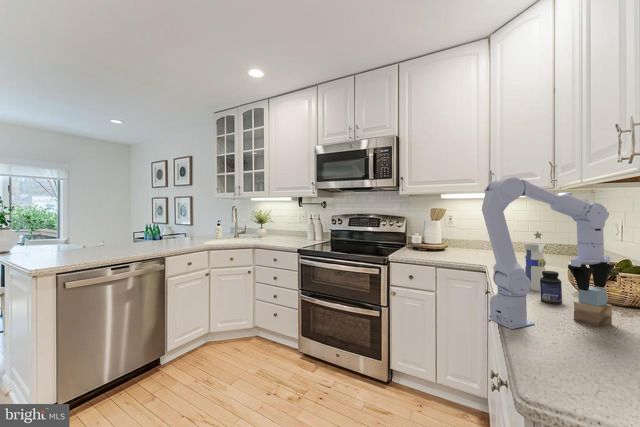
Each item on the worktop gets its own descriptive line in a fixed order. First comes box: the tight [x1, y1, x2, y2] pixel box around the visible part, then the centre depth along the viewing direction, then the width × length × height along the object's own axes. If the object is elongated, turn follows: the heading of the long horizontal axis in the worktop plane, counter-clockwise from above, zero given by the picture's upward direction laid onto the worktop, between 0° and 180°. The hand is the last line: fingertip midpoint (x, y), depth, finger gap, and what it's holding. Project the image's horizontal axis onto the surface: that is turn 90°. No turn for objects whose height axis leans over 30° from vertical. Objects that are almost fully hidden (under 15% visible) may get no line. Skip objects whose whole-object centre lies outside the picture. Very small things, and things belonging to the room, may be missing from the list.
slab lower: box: [573, 310, 613, 328], centre depth 84 cm, size 6×6×3 cm
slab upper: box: [573, 300, 613, 318], centre depth 83 cm, size 6×6×3 cm
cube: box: [577, 285, 608, 307], centre depth 83 cm, size 4×4×4 cm
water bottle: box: [522, 231, 547, 292], centre depth 120 cm, size 8×9×25 cm
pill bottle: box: [539, 270, 563, 305], centre depth 103 cm, size 6×6×11 cm
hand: (591, 288), depth 84 cm, fingers open, 7 cm apart
